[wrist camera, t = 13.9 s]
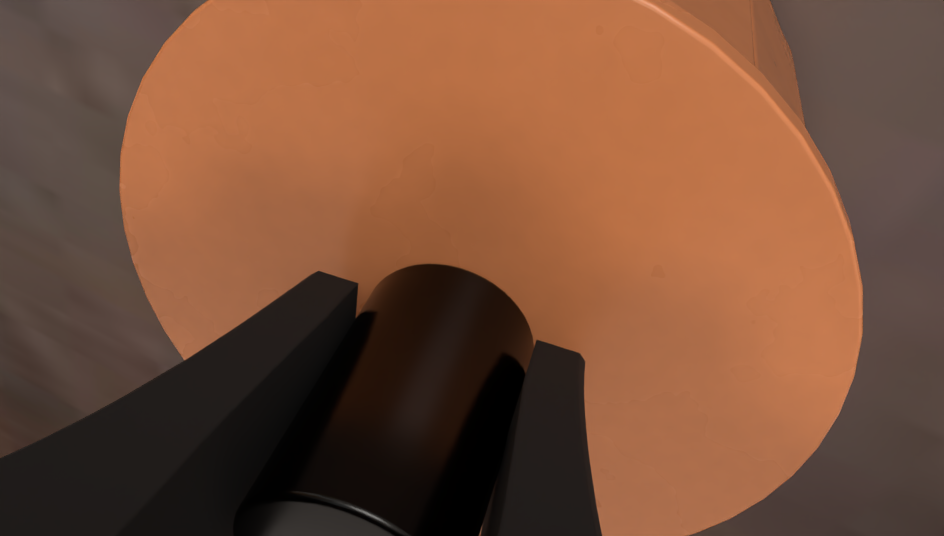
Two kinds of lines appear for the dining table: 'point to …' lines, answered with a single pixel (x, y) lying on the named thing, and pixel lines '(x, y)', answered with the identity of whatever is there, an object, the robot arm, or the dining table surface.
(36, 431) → the dining table surface
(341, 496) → the orange pot lid
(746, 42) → the orange pot
